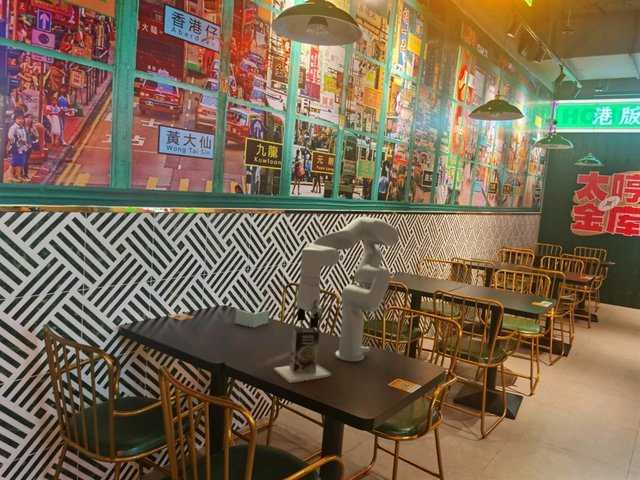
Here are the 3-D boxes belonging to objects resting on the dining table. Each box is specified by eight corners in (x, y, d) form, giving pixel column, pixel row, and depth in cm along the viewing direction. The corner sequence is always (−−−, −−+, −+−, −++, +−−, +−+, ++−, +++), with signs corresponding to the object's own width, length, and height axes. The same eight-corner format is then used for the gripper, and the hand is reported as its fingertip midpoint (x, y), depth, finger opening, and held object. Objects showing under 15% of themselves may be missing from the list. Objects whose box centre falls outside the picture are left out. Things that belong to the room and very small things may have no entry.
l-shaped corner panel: (268, 324, 248) (269, 310, 247) (253, 328, 238) (254, 314, 237) (250, 319, 254) (251, 306, 254) (235, 323, 244) (236, 309, 243)
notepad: (313, 364, 193) (313, 361, 193) (331, 376, 182) (331, 373, 182) (274, 370, 184) (274, 367, 184) (290, 382, 173) (290, 380, 173)
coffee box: (293, 374, 179) (296, 332, 177) (289, 367, 185) (292, 327, 183) (316, 373, 181) (319, 332, 180) (311, 367, 188) (315, 327, 186)
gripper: (290, 276, 185) (288, 318, 187) (313, 285, 170) (310, 331, 172) (306, 275, 189) (304, 317, 191) (330, 284, 174) (327, 329, 176)
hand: (307, 323), depth 182 cm, fingers open, 9 cm apart
